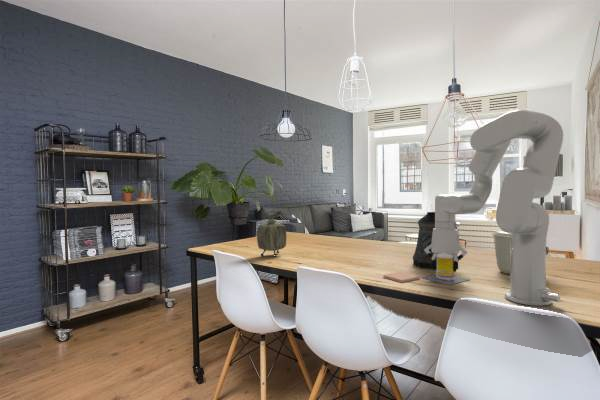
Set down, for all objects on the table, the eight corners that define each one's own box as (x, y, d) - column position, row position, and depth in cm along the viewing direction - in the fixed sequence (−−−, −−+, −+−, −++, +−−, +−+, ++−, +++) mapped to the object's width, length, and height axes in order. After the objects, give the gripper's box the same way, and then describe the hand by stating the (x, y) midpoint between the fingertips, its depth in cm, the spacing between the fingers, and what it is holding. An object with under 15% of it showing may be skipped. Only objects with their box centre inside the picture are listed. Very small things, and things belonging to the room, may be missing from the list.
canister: (492, 266, 160) (492, 220, 159) (540, 270, 151) (540, 222, 150) (490, 275, 144) (490, 224, 144) (544, 280, 135) (544, 226, 134)
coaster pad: (419, 278, 141) (419, 276, 141) (402, 282, 136) (402, 280, 136) (400, 273, 150) (400, 271, 149) (383, 277, 144) (383, 274, 144)
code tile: (470, 280, 138) (470, 279, 138) (449, 285, 131) (449, 284, 131) (441, 273, 149) (441, 272, 149) (421, 277, 142) (421, 277, 142)
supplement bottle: (456, 280, 136) (456, 248, 136) (438, 280, 138) (437, 247, 137) (452, 276, 143) (452, 245, 142) (435, 276, 144) (434, 244, 144)
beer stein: (412, 260, 175) (411, 211, 174) (454, 262, 170) (454, 211, 169) (413, 268, 159) (413, 213, 158) (459, 270, 154) (459, 213, 153)
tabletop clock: (278, 253, 202) (277, 209, 201) (288, 255, 195) (287, 210, 194) (257, 256, 193) (256, 211, 192) (266, 259, 186) (265, 211, 185)
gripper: (469, 225, 139) (469, 270, 139) (423, 223, 147) (424, 266, 147) (468, 227, 132) (468, 274, 133) (420, 225, 140) (420, 270, 141)
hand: (445, 269), depth 140 cm, fingers closed on supplement bottle, 6 cm apart
